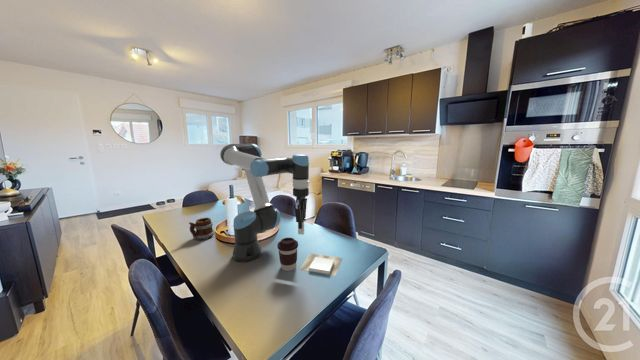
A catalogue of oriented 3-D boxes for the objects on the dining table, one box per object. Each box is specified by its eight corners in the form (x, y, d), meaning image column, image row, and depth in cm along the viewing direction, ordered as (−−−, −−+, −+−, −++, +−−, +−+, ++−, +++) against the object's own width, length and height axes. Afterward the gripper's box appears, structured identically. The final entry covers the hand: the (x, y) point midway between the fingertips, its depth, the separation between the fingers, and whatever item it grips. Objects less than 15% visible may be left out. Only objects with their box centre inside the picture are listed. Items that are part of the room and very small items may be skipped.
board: (299, 271, 105) (299, 269, 105) (310, 255, 120) (310, 253, 120) (335, 278, 100) (335, 275, 99) (342, 260, 115) (342, 258, 114)
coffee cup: (295, 275, 102) (294, 246, 99) (275, 273, 104) (273, 244, 101) (301, 264, 111) (300, 236, 109) (282, 262, 113) (281, 235, 111)
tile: (315, 260, 112) (308, 271, 103) (315, 256, 112) (308, 267, 103) (334, 263, 110) (329, 275, 100) (334, 259, 109) (329, 271, 100)
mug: (219, 234, 148) (214, 214, 143) (200, 246, 136) (193, 225, 132) (209, 230, 154) (203, 211, 149) (189, 242, 142) (182, 222, 137)
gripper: (304, 191, 96) (304, 240, 100) (312, 184, 108) (312, 229, 113) (288, 189, 98) (289, 238, 102) (297, 184, 110) (298, 227, 115)
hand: (301, 233), depth 108 cm, fingers closed
